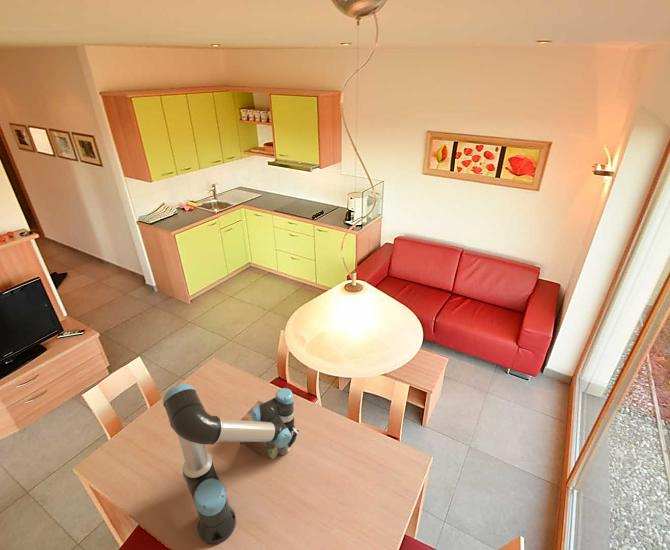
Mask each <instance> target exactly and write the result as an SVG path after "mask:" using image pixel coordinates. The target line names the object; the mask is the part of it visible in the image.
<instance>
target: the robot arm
mask: <svg viewBox="0 0 670 550" xmlns="http://www.w3.org/2000/svg"><path fill="white" fill-rule="evenodd" d="M294 401H295V400H294V395H293V392H292V390H291V389H289V388H288V387H287V388H286V387H283V388H280V389H278V390H277V391H276V393H275V396H274V397H273V398H271V399H269V400H267V401H265V402H262V403H263V404H260V405H258V406H256V407H255V408H253V409H252V410H251V417H252V420H253V421H243V420H241V419H222V418H220V417H219V416H218V415H212V414H210V413H208V412H207V411H206V409H205V407H204V405H203V403H202V402H201V399H200V397H199V396H198V393H197V390H196V389H195V388H194V386H193V385H191V384H187V383H181V384H177V385H175V386H173V387H171V388H170V389H169V390H167V392H166V393H165V394H164V396H163V398H162V405H163V407H164V409H165V412H166V414H167V418H168V422H169V425H170V427H171V428H172V429H171V430H173V431H174V433H175V434H177V436H178V440H179V445H180V448H181V452H182V456H183V458H184V459H183V460H184V463H183V465H182V475H183V478H184V480H185V482H186V485H187V487H188V490H189V492H190V496H191V498H192V500H193V502H194V505H195V509H196V510H197V514H198V517H199V520H198V523H197V530H198V531H197V532H198V535H199V538H200V539H201V541H202V542H204V543H205V544H208V545H211V546H212V545H219V544H221V543H223V542H225V541H226V540H228V539H229V538H230V536H231V535H232V533H233V532H234V531H235V528H236V524H237V517H236V513H235V511H234V509H233V508H232V507H231V506H230V505H229V501H228V496H227V489H226V487H225V485H224V483H223V482H222V481H221V480H220V478H219V475H218V474H217V471H216V469H215V466H214V461H213V457H212V456H211V455H210V453H208V452H207V448H206V445H211V446H213V445H215V444H216V443H218V442H239V443H240V442H274V444H275V445H276V446H277V447H278V448H282V447H285V451H286V452H287V453H289V452H290V450H291V449H292V445H293V444H294V443H295V442H296V440H297V436H298V434H299V433H300V430H299V429H296V426H295V410H294ZM286 452H285V453H286Z"/></svg>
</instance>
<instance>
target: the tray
mask: <svg viewBox="0 0 670 550" xmlns="http://www.w3.org/2000/svg"><path fill="white" fill-rule="evenodd" d="M267 452H268V456H269V457H268V458H271V459H275V458H276V457H277V455H278V454H280V455H282V456H284V455H285V453H286V451H285V447H282V448H278V447H277V446H275V447H274V448H267Z"/></svg>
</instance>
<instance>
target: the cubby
mask: <svg viewBox="0 0 670 550" xmlns="http://www.w3.org/2000/svg"><path fill="white" fill-rule="evenodd" d="M263 403H264V402H262V401H261V400H258V401H257V402H256V403H255V404H254V405H253V406H252V407H251V408H250V409H249V410H248V412H247V413H246V414H245V415H243V417H242V418H241V419H240V420H243V421H253V420H252V417H251V410H252V409H253V408H255V407H256V406H258V405H260V404H263ZM239 444H240V445H242V446H243V447H245V448H246V449H248V450H250V451H251V452H254V453H256V454H257V455H259V456H260V457H263V458H264V459H269V458H270V457H269V456H268V452H267V443H266V442H239Z"/></svg>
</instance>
